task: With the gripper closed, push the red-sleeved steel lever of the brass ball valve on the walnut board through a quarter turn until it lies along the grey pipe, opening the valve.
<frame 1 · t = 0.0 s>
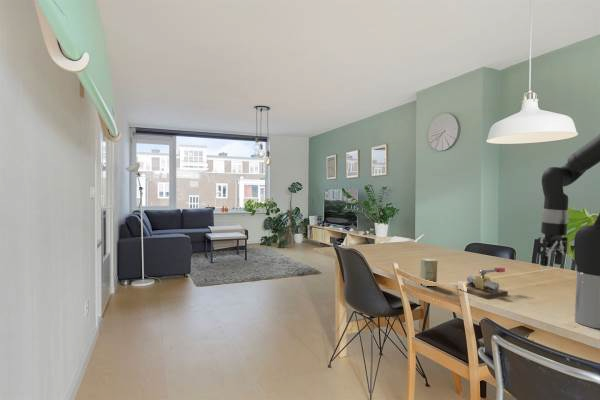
hand: (551, 265, 123), 17 cm above the table, tool pointing down, fingers open, 8 cm apart
lever: (491, 270, 147), point 9 cm above the table, hinge at 0.0°
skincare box: (428, 286, 155), on the table
mounting board: (481, 291, 146), on the table
valve: (482, 292, 145), resting on mounting board
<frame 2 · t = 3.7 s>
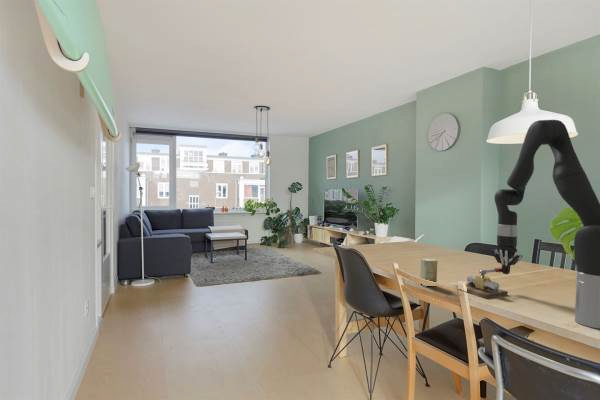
hand: (505, 273, 147), 8 cm above the table, tool pointing down, fingers closed
lever: (491, 270, 147), point 9 cm above the table, hinge at 0.1°, touching gripper
everything else where it was.
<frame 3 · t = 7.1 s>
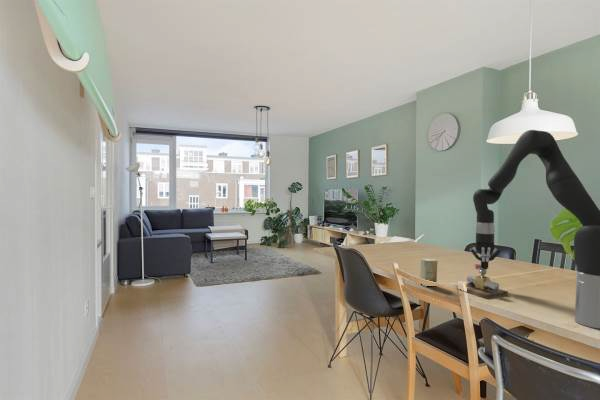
hand: (484, 269, 154), 8 cm above the table, tool pointing down, fingers closed
lever: (480, 269, 150), point 9 cm above the table, hinge at 48.3°, touching gripper
everything else where it was.
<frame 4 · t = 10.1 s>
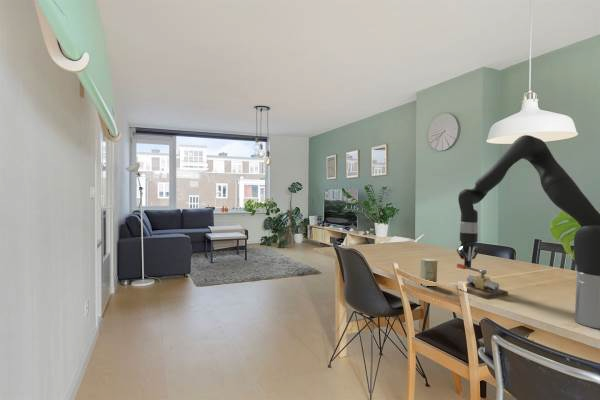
hand: (467, 268, 156), 8 cm above the table, tool pointing down, fingers closed
lever: (471, 268, 150), point 9 cm above the table, hinge at 87.8°
everything else where it was.
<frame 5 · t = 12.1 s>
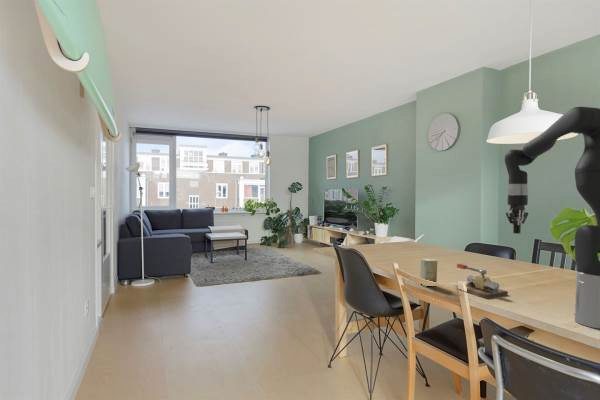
hand: (516, 233, 148), 26 cm above the table, tool pointing down, fingers closed
nothing on the table moved.
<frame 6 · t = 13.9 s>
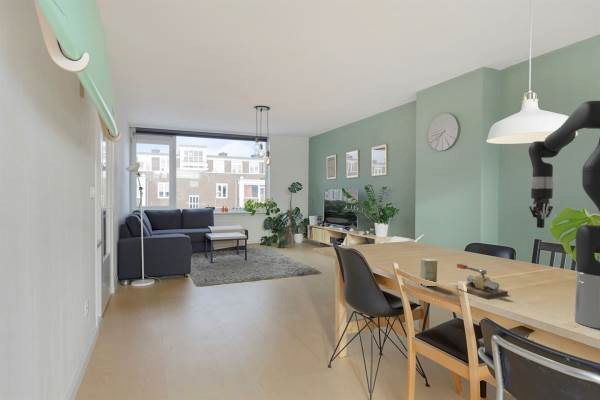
hand: (540, 227, 144), 29 cm above the table, tool pointing down, fingers closed
nothing on the table moved.
at the end: lever at +88° (first picture: +0°) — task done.
